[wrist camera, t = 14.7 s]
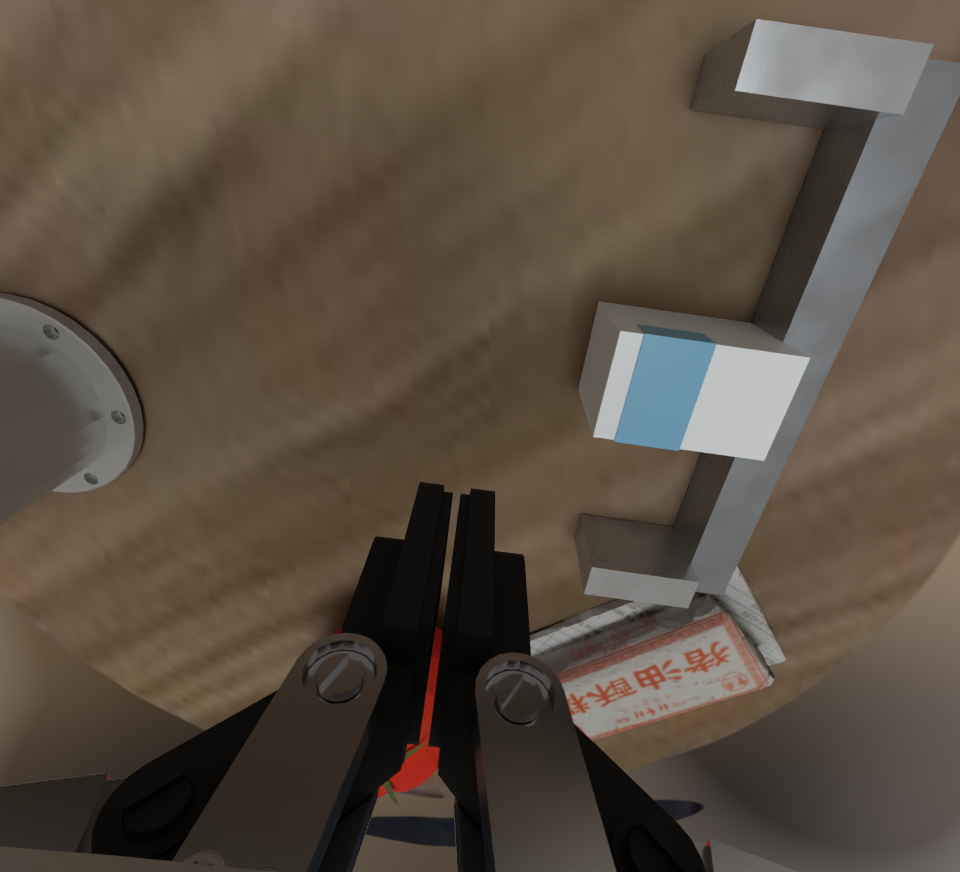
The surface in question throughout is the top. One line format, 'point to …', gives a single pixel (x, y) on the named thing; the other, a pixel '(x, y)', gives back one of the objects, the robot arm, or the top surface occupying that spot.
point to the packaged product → (658, 657)
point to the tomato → (419, 757)
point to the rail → (791, 269)
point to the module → (686, 381)
